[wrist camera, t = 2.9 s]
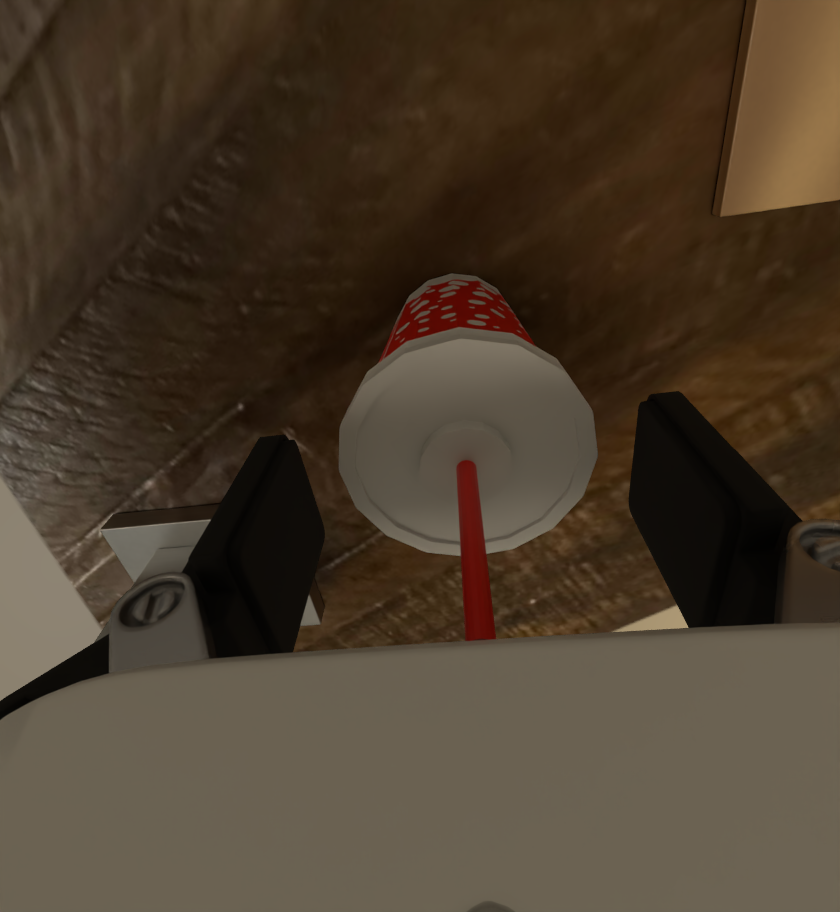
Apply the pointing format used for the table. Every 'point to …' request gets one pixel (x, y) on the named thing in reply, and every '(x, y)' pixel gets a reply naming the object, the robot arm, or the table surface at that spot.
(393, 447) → the beverage cup
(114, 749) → the robot arm
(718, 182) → the drip mat
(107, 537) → the faucet base
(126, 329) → the table surface
